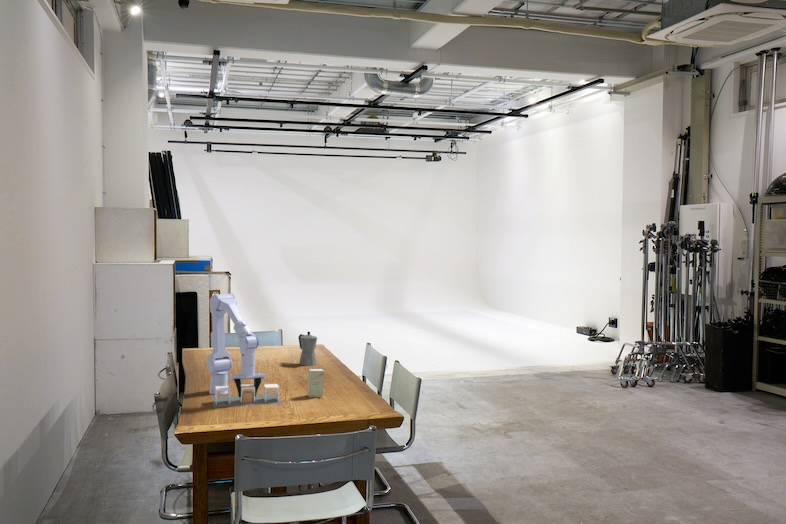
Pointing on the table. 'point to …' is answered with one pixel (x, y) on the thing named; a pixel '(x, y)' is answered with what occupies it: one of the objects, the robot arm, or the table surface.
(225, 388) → the arch left
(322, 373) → the skincare box
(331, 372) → the table surface
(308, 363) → the coffeepot
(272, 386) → the arch right
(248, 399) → the cube
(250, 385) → the white u-channel shell
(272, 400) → the mat
